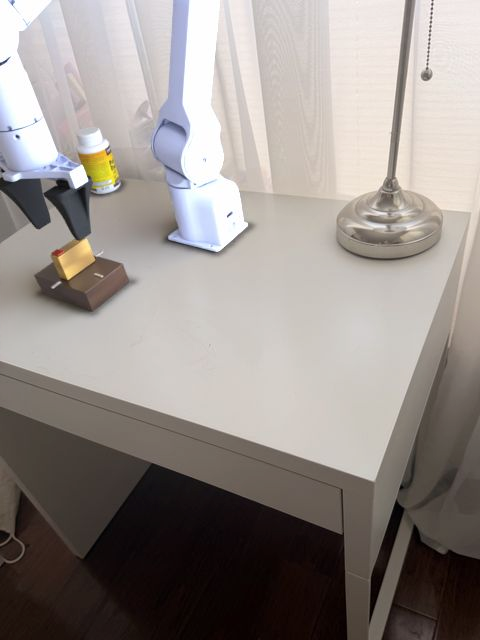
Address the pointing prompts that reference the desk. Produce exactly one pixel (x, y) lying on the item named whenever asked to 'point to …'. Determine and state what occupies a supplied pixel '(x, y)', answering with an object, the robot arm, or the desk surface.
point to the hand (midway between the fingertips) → (63, 230)
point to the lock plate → (85, 283)
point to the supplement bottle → (97, 160)
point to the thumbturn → (72, 258)
